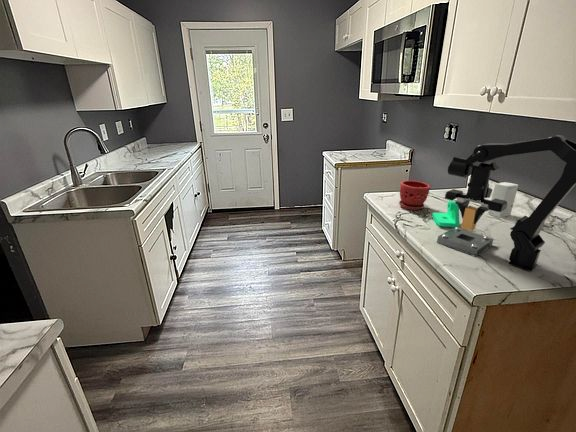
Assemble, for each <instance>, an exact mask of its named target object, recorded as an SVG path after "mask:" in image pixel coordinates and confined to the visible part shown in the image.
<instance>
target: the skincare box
mask: <svg viewBox="0 0 576 432" xmlns="http://www.w3.org/2000/svg"><path fill="white" fill-rule="evenodd" d="M518 189H519V184H516V183H514V182H513V183H512V182H507V181H504V182H498V183H497V182H496V183H495V184H494V187H493V190H492V195H491V199H490V200H493V199H495V198H496V199H500V200H505V201H506V202H507V208H506V209H505V210H503V211H501V212H496V211H492V210H488V211H487V214H488V215H489V216H490V215H491V216H493V217H496V218H498V219H501V218H504V217H508V216H511V214H512V211H513V207H514V203H515V200H516V199H515V198H516V196H517V192H518Z"/></svg>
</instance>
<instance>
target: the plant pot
mask: <svg viewBox="0 0 576 432" xmlns="http://www.w3.org/2000/svg"><path fill="white" fill-rule="evenodd" d="M430 190H431V185H429V184H428V183H425V182H422V181H418V180H417V181H416V180H404V181H401V182H400V187H399V197H400V200H399V201H398V204H399V206H400V207H401V208H403V209H406V210H410V211H411V210H412V211H418V210H421V209H423V208H424V207H425V205H424V203H426V200H427V199H428V196H429V193H430Z"/></svg>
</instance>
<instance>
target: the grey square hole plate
mask: <svg viewBox="0 0 576 432" xmlns="http://www.w3.org/2000/svg"><path fill="white" fill-rule="evenodd" d="M436 243H437V244H441V245H443V246H446V247H449V248H451V249H454V250H456V251H460V252H462V253H465V254H468V255H471V256H473V257H477V256H478V257H479V255H481V254H482V253H483V252H485V250H487V249H488V248H490V247H492V245H493V243H494V238H492V237H490V236H488V235H483V234H480V233H476V232H473V231H468V230H465V229H462V228H461V227H451V228H450V229H449V230H447V231H445V232H443V233H442V234H440V235H438V236H437V241H436Z"/></svg>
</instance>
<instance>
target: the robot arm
mask: <svg viewBox="0 0 576 432" xmlns="http://www.w3.org/2000/svg"><path fill="white" fill-rule="evenodd" d="M546 151H550V152H552V153H554V154H555V155H556V156H557V157H558V158H559V159H560V160H561V161H563V162H565V165H564V168H563V169H562V173H561V175H560V177H559V179H558V180H557V182H556V183H555V184H554V186H552V188H551V189H550V190H549V192H548V193H546V195H545V196H544V198H543V199H542V200H541V202H540V203H539V204H538V205H537V206H536V207H535V209H534V211H532V213H531V214H530V215H528V216H527V215H526V214H525V215H523V216H522V217H520V218H518V219H517V220H516V222H515V224H514V226H512V227H510V233H509V234H510V235H509V236H510V239H511V240H512V242H513V248H512V249H511V251H510V254H509V258H508V265H511V266H514V267H517V268H519V269H522V270H526V271H528V272H533V270H535V268H536V267H537V266H538V260H539V257H540V254H541V249H540V248H542V247H543V246H544V245H545V244H546V241H545V240H544V239H543V238H542V236H541V235H540V233H541V232H542V230H543V227H544V224H545V222H546V220H547V219H548V218H549V217H550V215H551V214H552V213H553V212H554V211H555V210H556V209H557V207H558V206H559V205H560V204H561V203H562V201H563V200H565V198H566V197H567V196H568V195H569V193H570V192H571V191H572V190H573V188H574V187H575V186H576V142H574V141H572V140H570V139H568V138H566V136H564V135H562V134H561V135H560V134H557V135H554V136H553V135H552V136H550V137H544V138H537V139H531V140H530V139H529V140H523V141H517V142H510V143H505V142H504V143H503V142H502V143H500V142H498V143H497V142H494V143H493V142H492V143H491V142H490V143H484V144H480V145H477V146H476V147H475V148H474V150H473V151H472V153H471V155H469V156H468V157H467V158H465V157H460V156H453V158H452V160H451V161H450V162H449V166H448V167H447V173H448V175H449V176H454V177H460V178H465V179H466V178H467V177H468V176H470V177H469V182H468V183H467V184H466V185H467V191H466V194H464V192H463V190H459V189H454V188H453V189H450V190H448V191H446V192H445V194H444V199H445V200H448V201H456V202H455V203H456V204H458V207H459V213H460V215H461V218H462V220H463V217H464V212H465V208H466V207H468V206H470V202H472V203H476V204H480V206H479V207H477V212H476V216H475V220H474V224H476V225H477V223H478V221H479V220H480V219H481V217H482V216H483V215H484V214H485V212H488V211H489V210H492V211H496V212H501V211H503V210H505V209H506V208H507V202H506V201H505V200H500V199H496V198H495V199H493V200H491V199H488V198H490V197H491V196H492V195H491V194H493V191H494V188H493V189H492V188H491V187H490V180H491V179H490V178H491V174H492V171H497V170H500V166H499V165H498V164H497V163H496V161H493V160H496V159H500V158H503V157H507V156H514V155H515V156H516V155H521V154H522V155H523V154H528V153H529V154H530V153H531V154H532V153H538V152H546ZM489 161H493V162H491V163H487V162H489ZM477 163H479V164H477Z"/></svg>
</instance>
